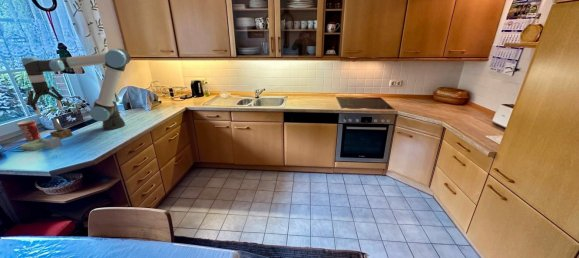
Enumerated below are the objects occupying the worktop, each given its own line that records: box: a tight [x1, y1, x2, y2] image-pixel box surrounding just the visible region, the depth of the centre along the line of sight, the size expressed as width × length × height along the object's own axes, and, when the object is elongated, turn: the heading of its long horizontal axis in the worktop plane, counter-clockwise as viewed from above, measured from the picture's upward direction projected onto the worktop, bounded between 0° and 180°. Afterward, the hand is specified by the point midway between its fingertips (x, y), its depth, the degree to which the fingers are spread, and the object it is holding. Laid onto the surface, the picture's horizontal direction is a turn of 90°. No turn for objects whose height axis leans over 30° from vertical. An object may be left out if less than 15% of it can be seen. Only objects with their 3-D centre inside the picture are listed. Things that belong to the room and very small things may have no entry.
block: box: [42, 136, 63, 150], centre depth 160 cm, size 6×6×6 cm
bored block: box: [49, 128, 73, 141], centre depth 176 cm, size 8×8×5 cm
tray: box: [19, 137, 46, 152], centre depth 162 cm, size 12×12×3 cm
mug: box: [16, 119, 42, 142], centre depth 172 cm, size 13×9×14 cm
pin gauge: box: [52, 118, 63, 132], centre depth 175 cm, size 3×3×14 cm
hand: (50, 111), depth 168 cm, fingers open, 13 cm apart
